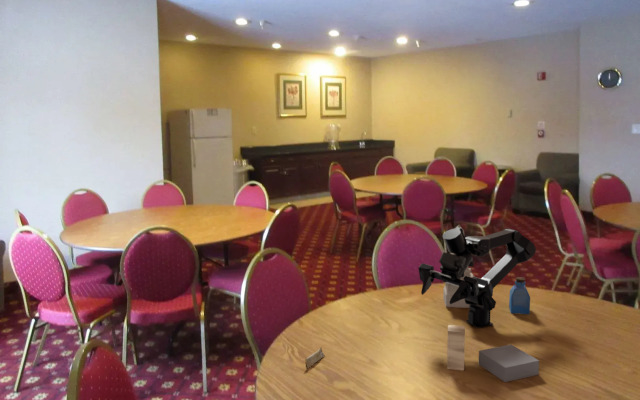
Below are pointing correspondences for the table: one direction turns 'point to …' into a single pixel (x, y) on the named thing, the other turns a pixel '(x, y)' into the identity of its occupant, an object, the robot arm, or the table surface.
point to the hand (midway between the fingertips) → (435, 298)
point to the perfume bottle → (519, 297)
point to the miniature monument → (451, 289)
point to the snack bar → (314, 358)
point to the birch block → (456, 347)
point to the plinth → (508, 363)
